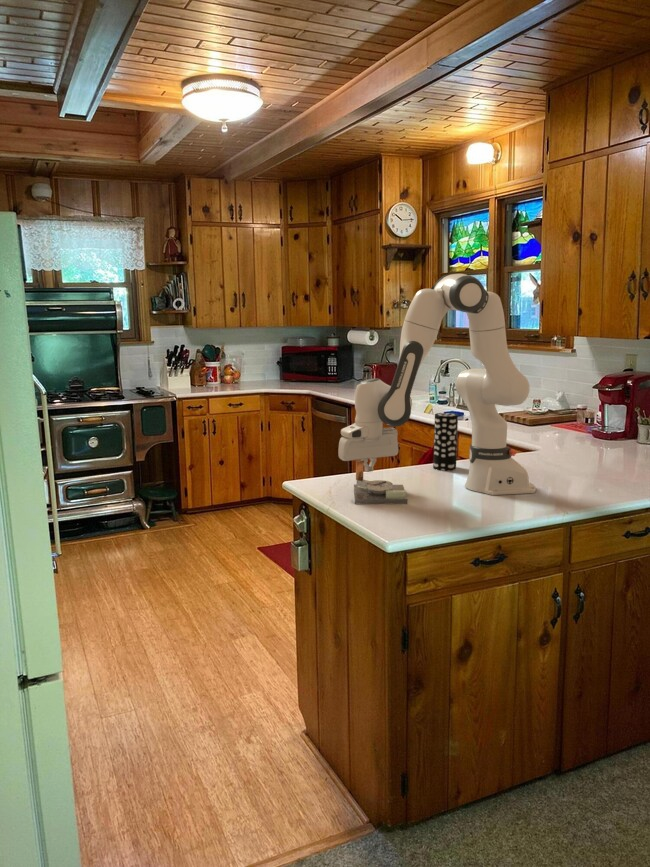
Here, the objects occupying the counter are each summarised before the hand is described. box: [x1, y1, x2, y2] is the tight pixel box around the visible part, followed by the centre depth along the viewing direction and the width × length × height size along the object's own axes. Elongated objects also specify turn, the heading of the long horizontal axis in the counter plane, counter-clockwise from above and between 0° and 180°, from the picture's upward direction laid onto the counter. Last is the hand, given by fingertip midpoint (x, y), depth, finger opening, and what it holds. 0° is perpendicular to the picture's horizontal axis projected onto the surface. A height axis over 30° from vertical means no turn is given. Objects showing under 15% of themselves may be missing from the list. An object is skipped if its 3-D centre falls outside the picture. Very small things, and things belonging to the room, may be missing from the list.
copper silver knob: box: [355, 459, 394, 495], centre depth 221 cm, size 8×13×8 cm, turn 50°
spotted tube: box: [432, 412, 459, 472], centre depth 256 cm, size 8×8×20 cm
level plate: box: [353, 483, 409, 505], centre depth 220 cm, size 16×17×3 cm
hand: (368, 471), depth 226 cm, fingers closed
